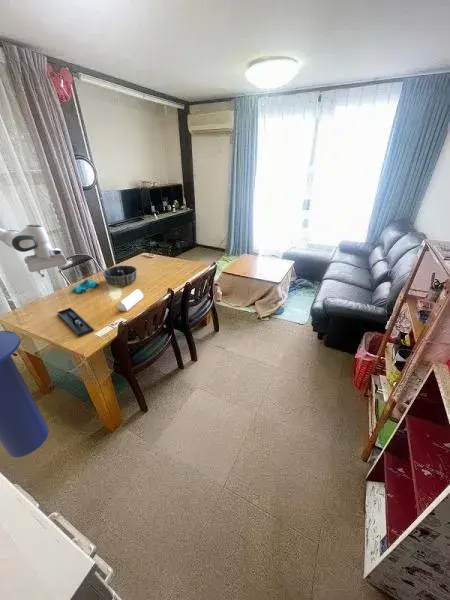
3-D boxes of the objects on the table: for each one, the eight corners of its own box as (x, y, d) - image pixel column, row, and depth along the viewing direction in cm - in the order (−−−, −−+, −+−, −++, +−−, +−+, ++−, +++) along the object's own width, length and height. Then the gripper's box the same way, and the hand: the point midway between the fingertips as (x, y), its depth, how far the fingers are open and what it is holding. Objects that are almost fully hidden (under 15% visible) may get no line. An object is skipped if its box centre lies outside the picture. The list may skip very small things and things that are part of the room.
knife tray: (78, 337, 145) (77, 334, 144) (58, 314, 166) (57, 312, 165) (93, 331, 151) (92, 328, 150) (71, 310, 172) (70, 307, 171)
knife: (85, 329, 149) (82, 322, 147) (79, 331, 147) (77, 324, 145) (71, 314, 170) (69, 308, 168) (66, 315, 168) (64, 309, 166)
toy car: (100, 285, 206) (98, 278, 202) (79, 294, 192) (77, 286, 188) (91, 282, 210) (89, 275, 207) (70, 291, 196) (68, 283, 193)
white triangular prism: (127, 308, 166) (146, 292, 186) (117, 302, 166) (138, 287, 186) (124, 316, 170) (143, 299, 190) (114, 310, 169) (135, 294, 190)
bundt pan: (122, 273, 228) (120, 263, 223) (145, 278, 218) (143, 267, 213) (98, 284, 207) (95, 273, 202) (122, 291, 197) (119, 279, 192)
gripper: (24, 258, 141) (33, 281, 148) (64, 250, 154) (71, 271, 161) (21, 255, 145) (30, 278, 152) (60, 247, 158) (67, 268, 165)
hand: (51, 274), depth 156 cm, fingers open, 8 cm apart
